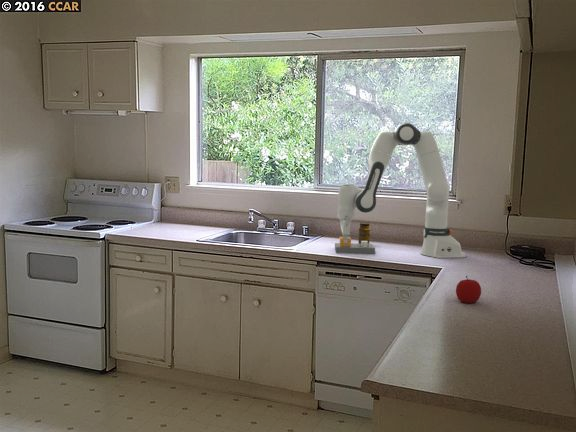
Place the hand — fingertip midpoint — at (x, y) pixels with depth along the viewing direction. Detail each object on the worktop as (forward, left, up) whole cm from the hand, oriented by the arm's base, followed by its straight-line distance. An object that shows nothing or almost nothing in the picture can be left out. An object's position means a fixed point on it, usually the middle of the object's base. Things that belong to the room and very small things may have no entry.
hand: (344, 241), depth 323 cm
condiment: (-11, -19, -6) cm, 23 cm away
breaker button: (-10, 0, -5) cm, 11 cm away
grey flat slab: (-5, 0, -5) cm, 7 cm away
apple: (-40, +92, -6) cm, 101 cm away
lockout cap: (0, 0, -2) cm, 2 cm away
